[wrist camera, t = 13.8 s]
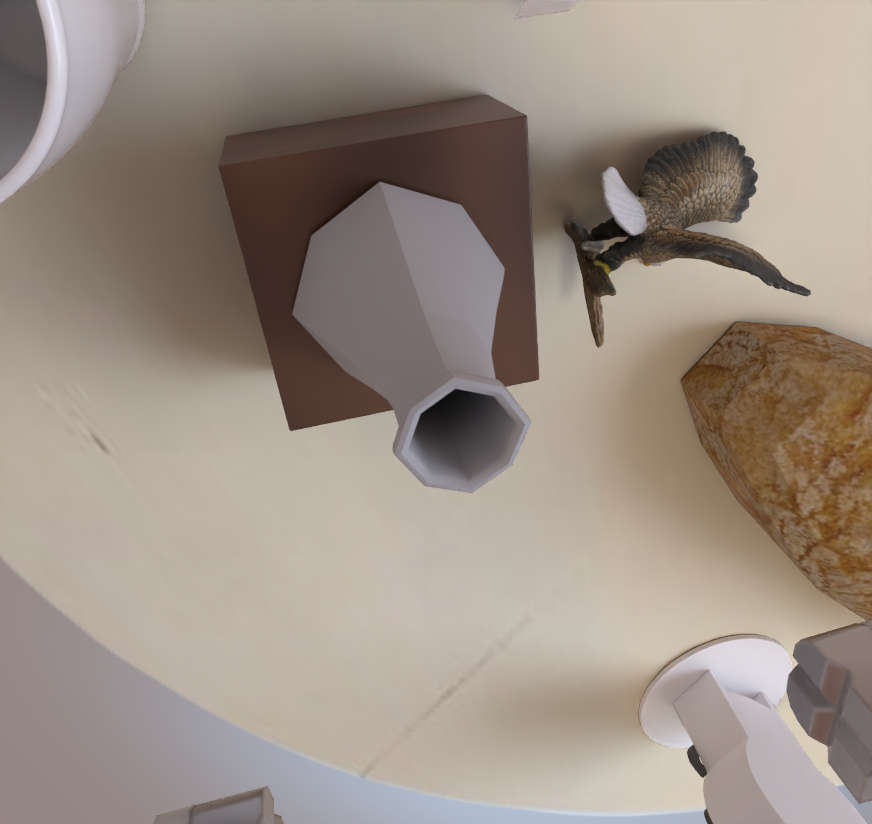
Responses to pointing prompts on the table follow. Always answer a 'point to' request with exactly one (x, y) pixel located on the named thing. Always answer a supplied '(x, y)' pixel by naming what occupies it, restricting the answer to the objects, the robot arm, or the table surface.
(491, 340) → the flask
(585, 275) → the eagle figurine
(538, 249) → the table surface
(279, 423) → the table surface
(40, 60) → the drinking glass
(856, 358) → the brown rock
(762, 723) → the panda figurine
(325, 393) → the walnut block
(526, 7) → the white bird figurine
